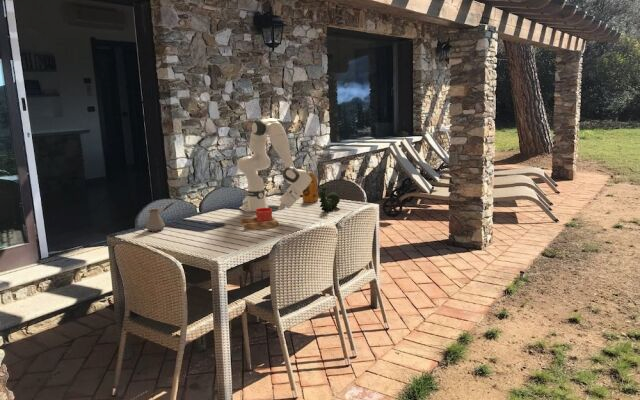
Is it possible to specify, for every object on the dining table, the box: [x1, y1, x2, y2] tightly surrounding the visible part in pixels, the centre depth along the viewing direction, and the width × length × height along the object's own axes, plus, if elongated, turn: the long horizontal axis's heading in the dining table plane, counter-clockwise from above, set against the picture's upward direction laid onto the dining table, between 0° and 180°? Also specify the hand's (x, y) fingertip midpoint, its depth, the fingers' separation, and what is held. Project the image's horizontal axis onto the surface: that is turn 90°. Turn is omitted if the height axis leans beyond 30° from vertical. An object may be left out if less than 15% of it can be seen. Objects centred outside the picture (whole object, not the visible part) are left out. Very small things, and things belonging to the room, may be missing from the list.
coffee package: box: [302, 171, 319, 204], centre depth 378 cm, size 10×12×22 cm
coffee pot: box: [145, 202, 174, 232], centre depth 315 cm, size 21×12×15 cm, turn 144°
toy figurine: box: [318, 186, 341, 212], centre depth 347 cm, size 9×19×25 cm
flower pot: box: [254, 207, 273, 222], centre depth 313 cm, size 11×11×10 cm
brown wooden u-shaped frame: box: [240, 216, 280, 231], centre depth 313 cm, size 22×17×4 cm
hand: (278, 209), depth 314 cm, fingers closed
